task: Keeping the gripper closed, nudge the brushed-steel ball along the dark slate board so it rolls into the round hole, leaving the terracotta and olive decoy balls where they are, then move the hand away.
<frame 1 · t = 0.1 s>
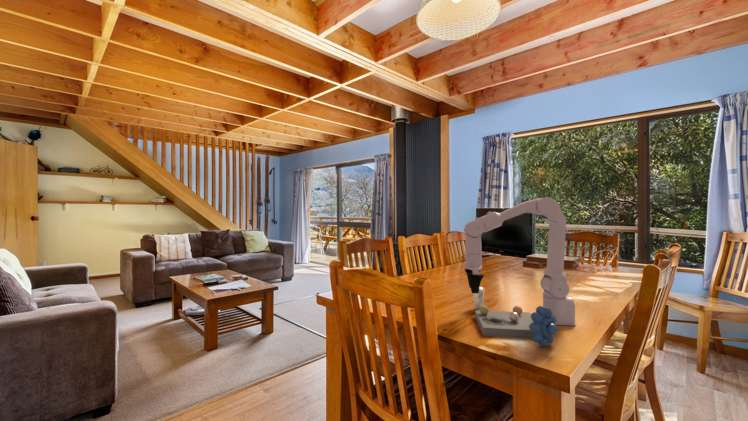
hand: (473, 290, 119), 10 cm above the table, tool pointing down, fingers open, 7 cm apart
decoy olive: (484, 309, 115), point 4 cm above the table, touching board
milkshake: (479, 310, 128), on the table
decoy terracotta: (517, 310, 114), point 4 cm above the table, touching board
grapes: (546, 348, 93), on the table
steel ball: (514, 317, 107), point 4 cm above the table, touching board
board: (508, 326, 109), on the table
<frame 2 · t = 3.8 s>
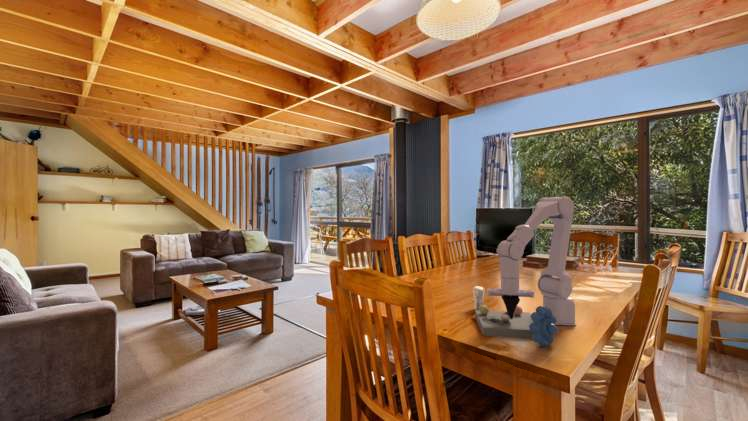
hand: (510, 318, 107), 4 cm above the table, tool pointing down, fingers closed, pressing on steel ball
steel ball: (505, 316, 108), point 4 cm above the table, tilted 95°, touching board, gripper
everything else where it was.
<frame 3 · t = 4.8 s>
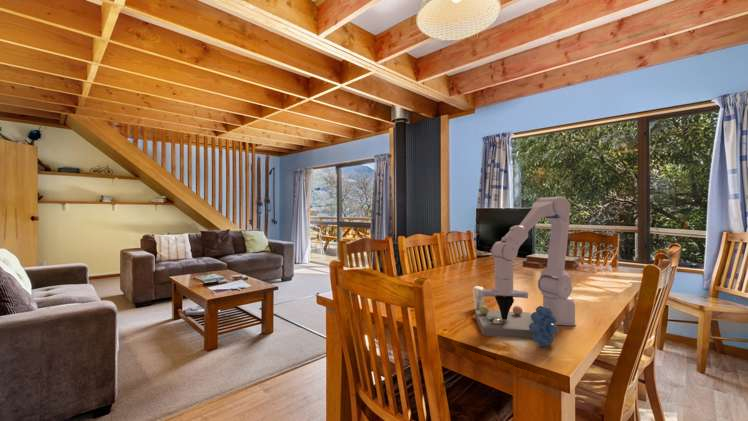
hand: (504, 318, 108), 3 cm above the table, tool pointing down, fingers closed
steel ball: (497, 323, 108), point 2 cm above the table, tilted 138°
everything else where it was.
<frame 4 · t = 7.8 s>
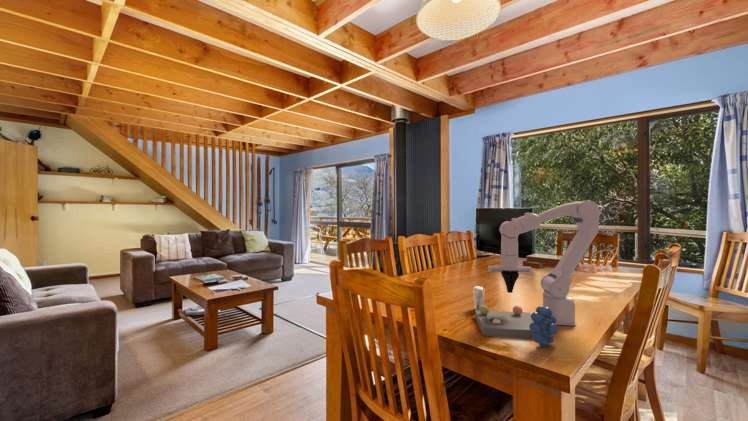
hand: (509, 292, 117), 10 cm above the table, tool pointing down, fingers closed
steel ball: (496, 323, 108), point 2 cm above the table, tilted 131°
everything else where it was.
at the end: steel ball 0.4 cm from the target spot on the board, point 1.6 cm above the board's base; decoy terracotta moved 0.0 cm from its start; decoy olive moved 0.0 cm from its start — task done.
